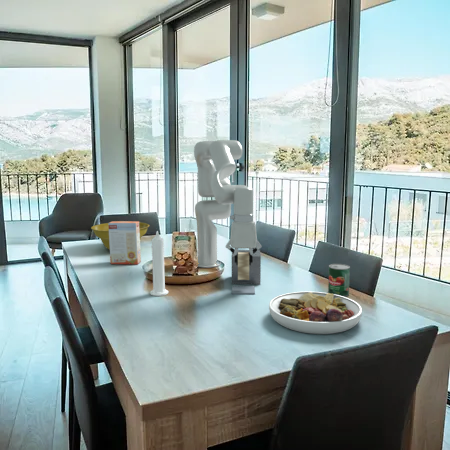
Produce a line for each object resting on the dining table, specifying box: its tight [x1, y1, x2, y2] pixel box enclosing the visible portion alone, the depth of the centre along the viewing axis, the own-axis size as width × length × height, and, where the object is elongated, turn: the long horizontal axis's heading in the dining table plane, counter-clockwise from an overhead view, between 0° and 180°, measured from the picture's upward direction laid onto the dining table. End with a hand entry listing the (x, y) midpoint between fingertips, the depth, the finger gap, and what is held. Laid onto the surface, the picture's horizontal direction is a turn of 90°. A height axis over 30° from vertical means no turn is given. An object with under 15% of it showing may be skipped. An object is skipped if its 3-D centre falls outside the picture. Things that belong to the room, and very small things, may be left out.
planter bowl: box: [90, 221, 150, 251], centre depth 257 cm, size 32×32×13 cm
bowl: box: [268, 291, 363, 335], centre depth 150 cm, size 30×30×8 cm
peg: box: [238, 252, 249, 280], centre depth 179 cm, size 4×4×10 cm
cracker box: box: [107, 220, 142, 265], centre depth 224 cm, size 14×6×21 cm, turn 84°
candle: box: [149, 230, 169, 297], centre depth 176 cm, size 7×7×25 cm
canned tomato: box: [327, 263, 351, 297], centre depth 176 cm, size 8×8×11 cm
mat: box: [231, 285, 256, 295], centre depth 181 cm, size 9×9×1 cm
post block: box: [231, 249, 262, 286], centre depth 194 cm, size 12×12×12 cm
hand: (243, 263), depth 179 cm, fingers closed on peg, 4 cm apart
